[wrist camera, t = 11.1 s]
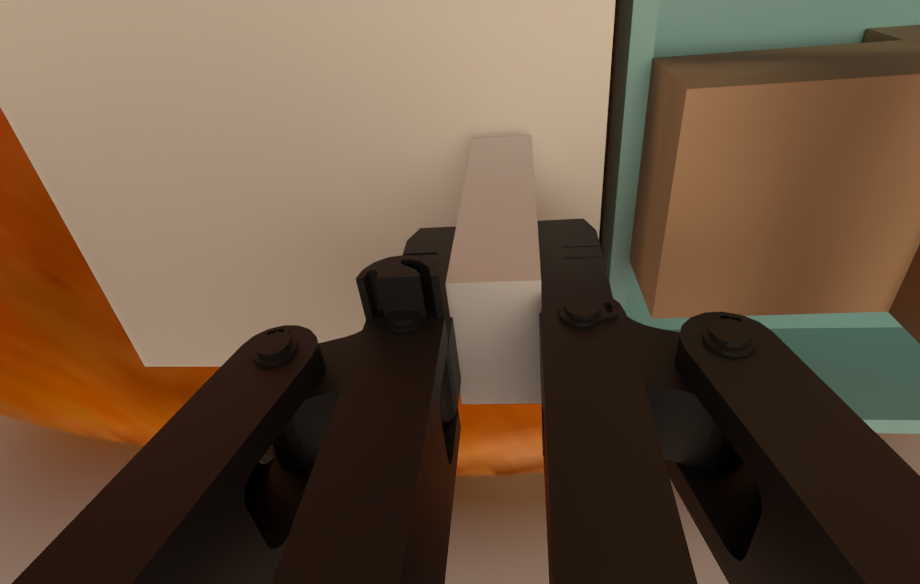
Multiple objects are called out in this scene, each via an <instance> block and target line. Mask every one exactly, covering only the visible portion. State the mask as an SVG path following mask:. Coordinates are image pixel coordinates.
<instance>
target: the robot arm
mask: <svg viewBox="0 0 920 584" xmlns="http://www.w3.org/2000/svg"><path fill="white" fill-rule="evenodd" d="M356 283H357V287H358V291H359V294H360V298H361V302H362V306H363V310H364V314H365V318H366V321H365V324H364V327H363V330H362V331H360V332H358V333H356V334H352V335H349V336H346V337H343V338H339V339H335V340H330V341H326V342H322V343H318V340H317V337H316V335H315V334H314V333H313V332H312V331H311V330H310V329H308V328H305V327H302V326H299V325H283V326H279V327H274V328H271V329H267V330H265V331H263V332H261V333H259V334H257V335H255V336H253V337H252V338H250V339H249V340H248V341H247V342H245V343H244V344H243V345H241V347H240V348H239V349H238V350H237V351H236V352H235V353H234V354H233V355H232V356H231V357H230V358H229V359H228V360H227V361H226V362H225V363H224V364H223V365H222V366H221V367H220V368H219V369H218V370H217V371H216V372H215V373H214V374H213V376H212V377H211V378H210V379H209V380H208V381H207V382H206V383H205V384H204V385H203V386H202V387H201V388H200V389H199V390H198V391H197V392H196V393H195V394H194V395H193V396H192V397H191V398H190V399H189V400H188V401H187V402H186V404H185V405H184V406H183V407H182V408H181V409H180V410H179V411H178V412H177V413H176V414H175V415H174V416H173V417H172V418H171V419H170V420H169V421H168V422H167V423H166V424H165V425H164V426H163V427H162V428H161V429H160V430H159V431H158V433H157V434H156V435H155V436H154V437H153V438H152V439H151V440H150V441H149V442H148V443H147V444H146V445H145V446H144V447H143V448H142V449H141V450H140V451H139V452H138V453H137V454H136V455H135V456H134V458H132V459H131V460H130V462H129V463H128V464H127V465H126V466H125V467H124V468H123V469H122V470H121V471H120V472H119V473H118V474H117V475H116V476H115V477H114V478H113V479H112V480H111V481H110V482H109V483H108V484H107V485H106V486H105V487H104V488H103V490H102V491H101V492H100V493H99V494H98V495H97V496H96V497H95V498H94V499H93V500H92V501H91V502H90V503H89V504H88V505H87V506H86V507H85V508H84V509H83V510H82V511H81V512H80V513H79V514H78V516H77V517H76V518H75V519H74V520H73V521H72V522H71V523H70V524H69V525H68V526H67V527H66V528H65V529H64V530H63V531H62V532H61V533H60V534H59V535H58V536H57V537H56V538H55V540H53V541H52V542H51V543H50V545H48V547H47V548H46V549H45V550H44V551H43V552H42V553H41V554H40V555H39V556H38V557H37V558H36V559H35V560H34V561H33V562H32V563H31V564H30V565H29V566H28V567H27V568H26V569H25V571H23V572H22V573H21V575H19V577H18V578H17V579H16V580H15V581H14V582H13V583H12V584H445V574H446V564H447V555H448V545H449V535H450V526H451V525H450V524H451V516H452V506H453V496H454V487H455V477H456V468H457V458H458V448H459V439H460V429H461V426H460V419H459V412H458V402H459V393H460V392H461V399H462V404H542V442H543V455H544V476H545V496H546V497H545V498H546V520H547V541H548V561H549V562H548V563H549V583H550V584H697V581H696V577H695V573H694V569H693V565H692V562H691V558H690V554H689V551H688V546H687V543H686V539H685V536H684V531H683V528H682V524H681V520H680V516H679V512H678V509H677V505H676V501H675V497H674V493H673V490H672V486H671V482H670V479H671V481H672V483H673V485H674V486H675V488H676V490H677V492H678V494H679V495H680V497H681V499H682V501H683V502H684V504H685V506H686V508H687V510H688V511H689V513H690V515H691V517H692V518H693V520H694V522H695V524H696V526H697V527H698V529H699V531H700V533H701V535H702V536H703V538H704V540H705V541H706V543H707V545H708V547H709V549H710V551H711V552H712V554H713V556H714V558H715V560H716V561H717V563H718V565H719V566H720V568H721V570H722V572H723V574H724V576H725V577H726V579H727V581H728V582H729V584H920V476H919V475H918V474H917V473H916V472H915V471H914V470H913V469H912V468H911V467H910V466H909V465H908V464H907V463H906V462H905V461H904V460H903V459H902V458H901V457H900V456H899V455H898V454H897V453H896V452H895V451H894V450H893V449H892V448H891V447H890V446H889V445H888V444H887V443H886V442H885V441H884V440H882V438H880V437H879V436H878V435H877V434H876V433H875V432H874V431H873V430H872V429H871V428H870V427H869V426H868V425H867V424H866V423H865V422H864V421H863V420H862V419H861V418H860V417H859V416H858V415H857V414H856V413H855V412H854V411H853V410H852V409H851V408H850V407H849V406H848V405H847V404H846V403H845V402H844V401H843V400H842V399H841V398H840V397H839V396H838V395H837V394H836V393H835V392H834V391H833V390H832V389H831V388H830V387H829V386H828V385H827V384H826V383H825V382H824V381H823V380H822V379H821V378H820V377H818V376H817V375H816V374H815V373H814V372H813V371H812V370H811V369H810V368H809V367H808V366H807V365H806V364H805V363H804V362H803V361H802V360H801V359H800V358H799V357H798V356H797V355H796V354H795V353H794V352H793V351H792V350H791V349H790V348H789V347H788V346H787V345H786V344H785V343H784V342H783V341H782V340H781V339H780V338H779V337H778V336H777V335H776V334H775V333H774V332H773V331H771V330H770V329H768V328H767V327H766V326H764V325H763V324H761V323H760V322H758V321H756V320H753V319H751V318H748V317H746V316H743V315H740V314H734V313H728V312H705V313H702V314H699V315H696V316H693V317H690V318H689V319H688V320H687V321H686V322H685V323H684V324H683V325H682V326H681V331H680V332H676V331H670V330H665V329H660V328H655V327H651V326H647V325H644V324H641V323H639V322H637V321H634V320H632V319H631V318H629V317H628V316H626V312H625V311H624V309H623V307H622V306H621V304H620V303H619V302H618V301H616V300H615V299H613V296H612V292H611V288H610V283H609V279H608V275H607V271H606V267H605V263H604V259H603V258H602V251H601V247H600V243H599V239H598V235H597V231H596V229H595V228H594V227H592V226H591V225H590V224H589V223H588V222H587V221H586V220H584V219H563V220H542V221H537V209H536V194H535V179H534V164H533V149H532V135H524V136H509V137H494V138H480V139H473V140H472V145H471V150H470V156H469V161H468V166H467V172H466V177H465V182H464V188H463V193H462V198H461V204H460V209H459V214H458V220H457V225H456V226H454V227H433V228H420V229H419V230H418V231H417V232H415V233H414V234H413V235H412V236H411V237H410V238H409V239H408V240H407V242H406V245H405V248H404V251H403V255H400V256H393V257H388V258H385V259H382V260H379V261H376V262H374V263H372V264H371V265H369V266H367V267H366V268H364V269H363V270H362V271H361V272H360V274H359V275H358V276H357V277H356ZM669 477H670V478H669Z"/></svg>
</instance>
